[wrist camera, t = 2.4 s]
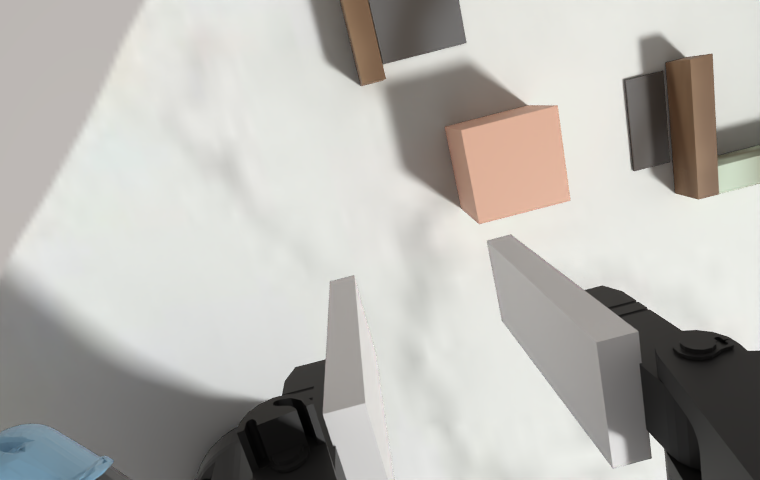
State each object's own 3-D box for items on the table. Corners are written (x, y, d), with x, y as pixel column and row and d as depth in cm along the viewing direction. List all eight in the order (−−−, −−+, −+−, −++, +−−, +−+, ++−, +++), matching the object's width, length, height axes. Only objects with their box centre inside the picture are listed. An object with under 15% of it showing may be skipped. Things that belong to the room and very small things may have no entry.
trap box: (404, 263, 36) (411, 282, 33) (320, -80, 30) (317, -107, 26) (828, 153, 37) (885, 158, 33) (834, -210, 30) (906, -255, 27)
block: (460, 208, 36) (479, 224, 31) (444, 126, 34) (461, 130, 29) (539, 187, 36) (570, 200, 31) (527, 105, 34) (557, 105, 29)
